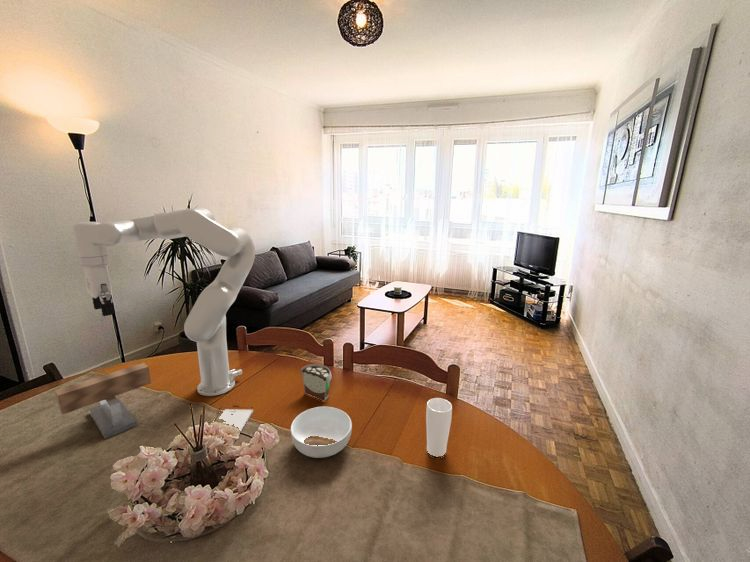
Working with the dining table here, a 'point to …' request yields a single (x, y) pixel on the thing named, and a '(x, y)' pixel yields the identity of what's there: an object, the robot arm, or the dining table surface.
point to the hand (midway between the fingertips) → (104, 311)
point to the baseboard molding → (236, 417)
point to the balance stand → (112, 417)
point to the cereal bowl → (321, 430)
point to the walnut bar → (102, 388)
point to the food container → (316, 380)
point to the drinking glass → (438, 425)
